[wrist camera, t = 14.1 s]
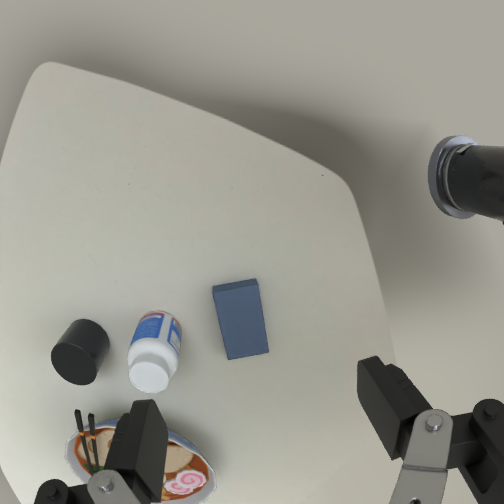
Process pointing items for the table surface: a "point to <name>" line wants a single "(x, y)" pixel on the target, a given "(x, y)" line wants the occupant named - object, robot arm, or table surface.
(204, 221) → the table surface
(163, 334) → the pill bottle
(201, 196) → the table surface
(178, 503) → the ramen bowl
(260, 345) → the blue rectangular block
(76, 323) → the black cylinder
